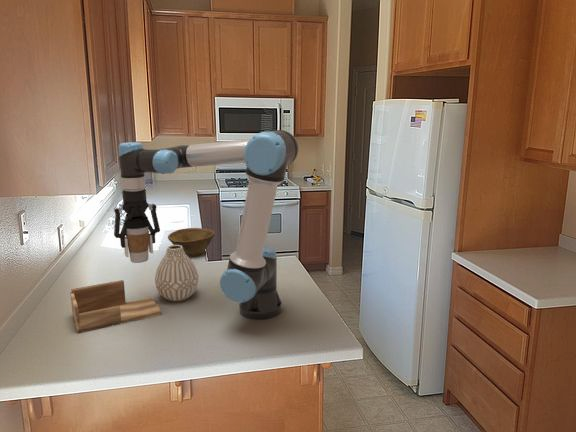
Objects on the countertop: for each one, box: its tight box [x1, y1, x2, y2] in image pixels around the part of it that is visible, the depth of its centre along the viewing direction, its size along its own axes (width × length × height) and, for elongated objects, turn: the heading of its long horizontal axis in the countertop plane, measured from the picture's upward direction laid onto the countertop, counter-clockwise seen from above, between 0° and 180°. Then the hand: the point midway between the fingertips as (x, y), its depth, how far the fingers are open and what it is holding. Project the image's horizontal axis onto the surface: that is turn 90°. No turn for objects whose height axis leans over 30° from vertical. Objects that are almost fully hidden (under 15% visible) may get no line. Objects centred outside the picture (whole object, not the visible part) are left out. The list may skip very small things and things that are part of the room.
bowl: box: [167, 227, 215, 257], centre depth 227 cm, size 22×23×10 cm
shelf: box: [69, 279, 163, 334], centre depth 160 cm, size 14×27×10 cm, turn 120°
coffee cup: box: [123, 216, 150, 264], centre depth 159 cm, size 8×8×15 cm
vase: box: [154, 244, 199, 302], centre depth 174 cm, size 16×16×20 cm
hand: (139, 254), depth 161 cm, fingers closed on coffee cup, 7 cm apart
